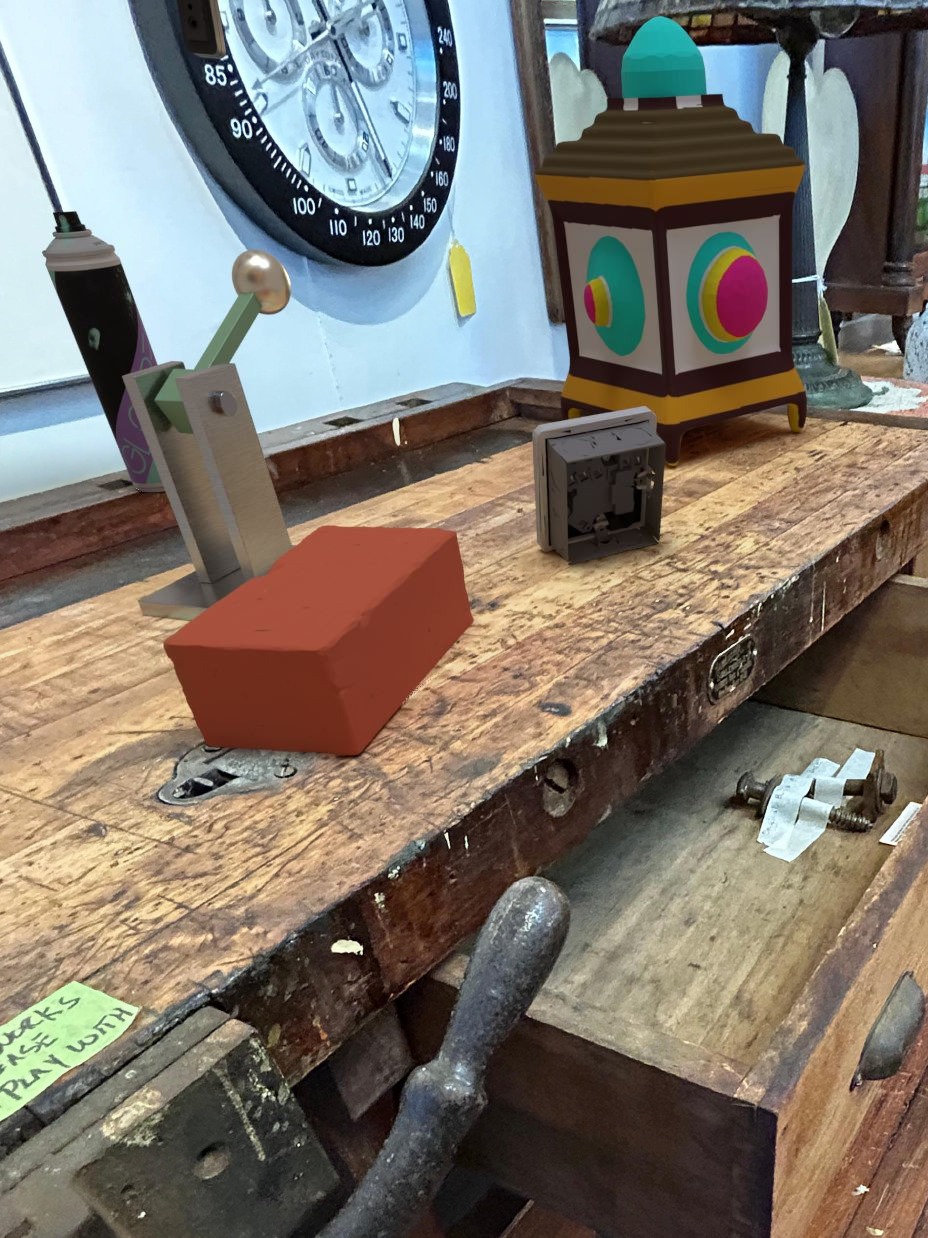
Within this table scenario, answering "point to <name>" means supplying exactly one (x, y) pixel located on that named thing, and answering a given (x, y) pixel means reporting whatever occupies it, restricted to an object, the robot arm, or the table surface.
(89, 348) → the spray can
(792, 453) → the table surface
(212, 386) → the switch bracket
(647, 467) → the electrical switch
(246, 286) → the switch lever
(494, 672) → the table surface
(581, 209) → the decorative lantern
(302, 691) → the brick
